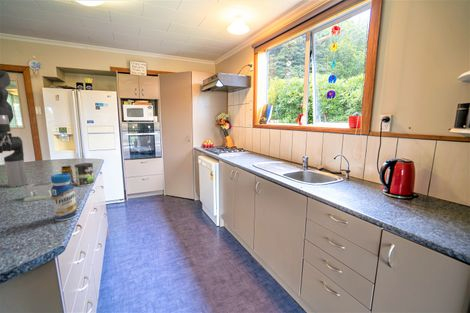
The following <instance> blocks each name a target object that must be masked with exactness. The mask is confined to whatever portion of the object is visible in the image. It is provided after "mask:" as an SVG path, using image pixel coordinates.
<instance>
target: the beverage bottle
mask: <svg viewBox="0 0 470 313" xmlns="http://www.w3.org/2000/svg"><path fill="white" fill-rule="evenodd" d="M50 180H51V183H52V184H54V185H53V186H52V188H51V193H52V196H51V199H50V200H51V201H52V208H53V214H54V220H55V221H59V222H60V221H62V222H63V221H68V220H71V219H73V218H75V217H77V216H78V211H77V202H76V192H75V191H74V189H75V187H74V185H73V183H70V181H71V176H70V174H68V173H64V174H62V173H56V174H52V175H51V177H50Z"/></svg>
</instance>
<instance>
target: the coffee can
mask: <svg viewBox="0 0 470 313" xmlns="http://www.w3.org/2000/svg"><path fill="white" fill-rule="evenodd" d="M93 166H94V164H93V162H84V163H76V164H75V165H74V169H75V170H74V171H75V177H76V181H77V182H76V186H79V187H87V186H91V185H93V184H95V175H94V167H93Z"/></svg>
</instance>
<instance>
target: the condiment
mask: <svg viewBox="0 0 470 313" xmlns="http://www.w3.org/2000/svg"><path fill="white" fill-rule="evenodd" d="M64 173H68V174H70V176H71V181H70V183H71V182H73V180H74V176H73V170H72V166H71V165H63V166H61V174H64ZM73 183H74V182H73ZM71 184H72V183H71Z"/></svg>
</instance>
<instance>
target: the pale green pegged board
mask: <svg viewBox="0 0 470 313" xmlns="http://www.w3.org/2000/svg"><path fill="white" fill-rule="evenodd" d="M51 196H52V195H51V191H50V190H48V195H43V196H33V192H30V197H28V195H27V196H26V197H25V198H23V202H25V203H26V202H32V201H42V200H52V199H51Z"/></svg>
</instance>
